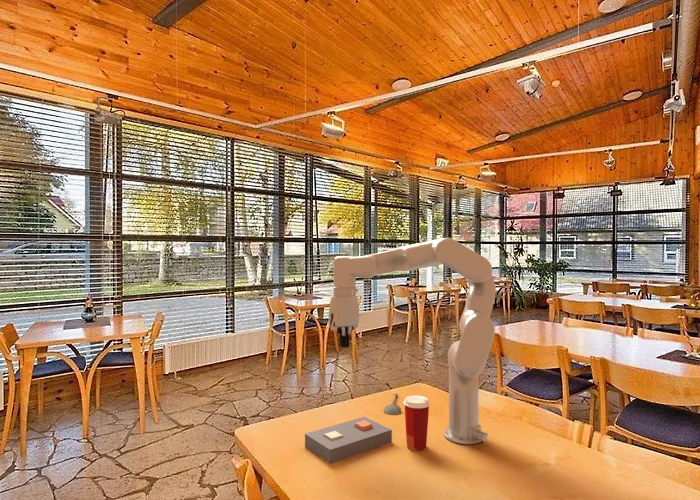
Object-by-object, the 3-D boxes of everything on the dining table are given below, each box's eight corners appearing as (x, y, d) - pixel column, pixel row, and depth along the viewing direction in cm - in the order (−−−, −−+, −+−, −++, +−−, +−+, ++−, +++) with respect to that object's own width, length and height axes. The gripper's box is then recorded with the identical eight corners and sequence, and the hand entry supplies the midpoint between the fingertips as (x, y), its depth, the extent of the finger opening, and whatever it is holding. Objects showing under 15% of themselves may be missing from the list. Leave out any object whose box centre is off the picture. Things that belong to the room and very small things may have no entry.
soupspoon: (382, 417, 165) (399, 419, 164) (382, 408, 165) (400, 410, 164) (388, 396, 187) (403, 398, 185) (388, 388, 186) (404, 390, 185)
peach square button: (372, 436, 143) (372, 423, 143) (362, 440, 140) (362, 426, 140) (364, 432, 146) (364, 420, 146) (354, 435, 143) (355, 422, 144)
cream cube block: (342, 448, 135) (342, 435, 136) (331, 452, 133) (331, 438, 133) (334, 444, 139) (334, 430, 139) (324, 447, 136) (324, 433, 136)
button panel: (391, 442, 141) (391, 429, 141) (330, 463, 127) (330, 449, 127) (364, 428, 152) (364, 416, 152) (304, 446, 138) (304, 433, 138)
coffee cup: (432, 444, 140) (432, 397, 140) (425, 454, 132) (426, 405, 132) (407, 439, 143) (407, 393, 143) (399, 449, 136) (399, 401, 136)
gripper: (355, 290, 156) (355, 342, 156) (320, 292, 147) (319, 347, 147) (368, 292, 150) (368, 345, 150) (332, 294, 141) (332, 351, 141)
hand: (344, 346), depth 148 cm, fingers closed
